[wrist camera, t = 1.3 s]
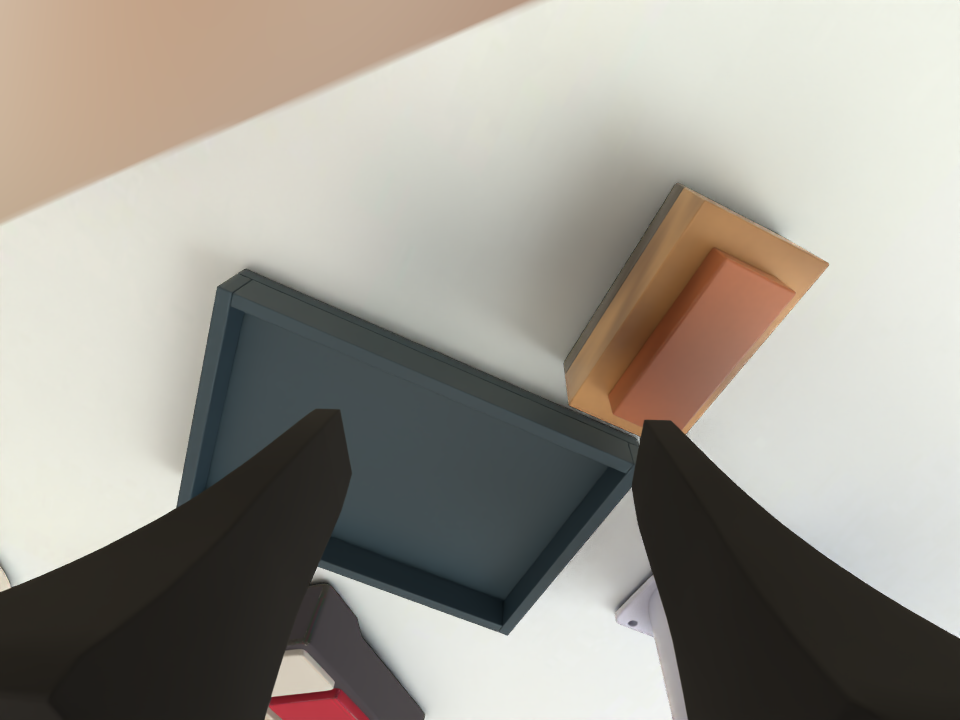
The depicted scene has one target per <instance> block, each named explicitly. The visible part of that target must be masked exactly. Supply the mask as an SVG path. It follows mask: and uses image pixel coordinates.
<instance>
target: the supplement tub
mask: <svg viewBox="0 0 960 720" xmlns="http://www.w3.org/2000/svg"><path fill="white" fill-rule="evenodd" d="M9 588H11V586H10V583H9V580H8V579H7V577H6V575H5V573H4V571H3V570H2V568H1V567H0V592H2V591H4V590H7V589H9Z"/></svg>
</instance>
